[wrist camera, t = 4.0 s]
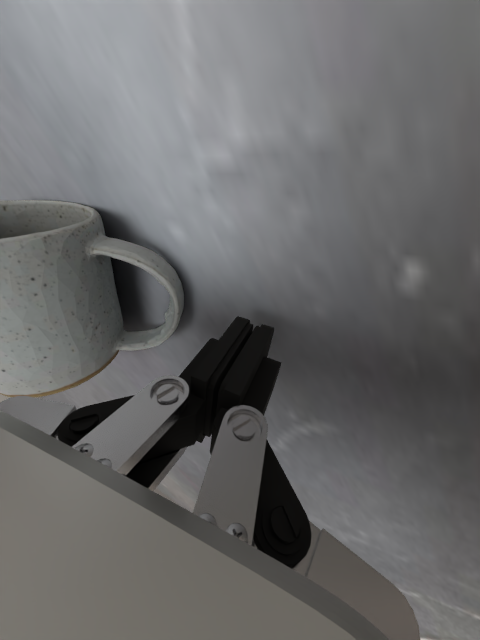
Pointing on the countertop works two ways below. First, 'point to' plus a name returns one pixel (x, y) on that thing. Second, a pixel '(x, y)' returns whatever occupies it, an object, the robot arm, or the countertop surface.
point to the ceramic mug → (67, 297)
